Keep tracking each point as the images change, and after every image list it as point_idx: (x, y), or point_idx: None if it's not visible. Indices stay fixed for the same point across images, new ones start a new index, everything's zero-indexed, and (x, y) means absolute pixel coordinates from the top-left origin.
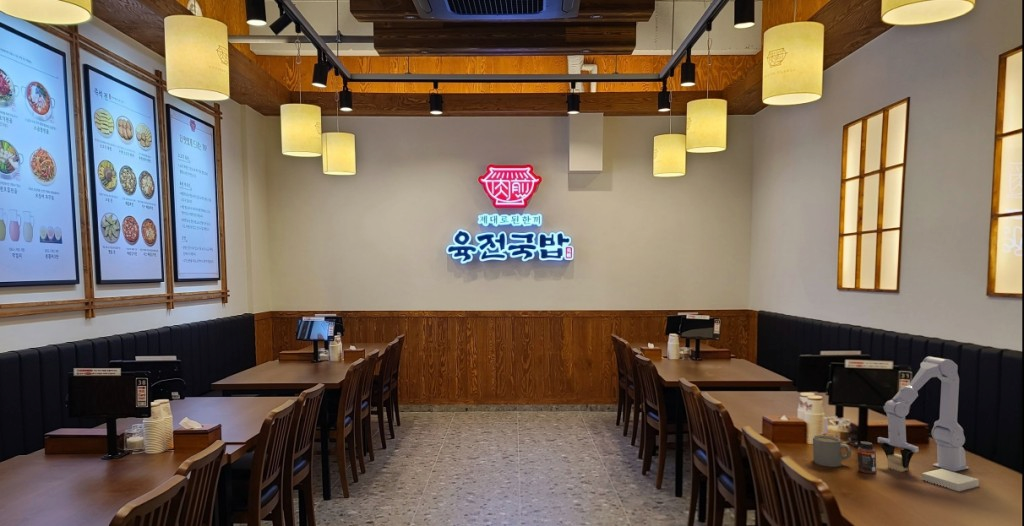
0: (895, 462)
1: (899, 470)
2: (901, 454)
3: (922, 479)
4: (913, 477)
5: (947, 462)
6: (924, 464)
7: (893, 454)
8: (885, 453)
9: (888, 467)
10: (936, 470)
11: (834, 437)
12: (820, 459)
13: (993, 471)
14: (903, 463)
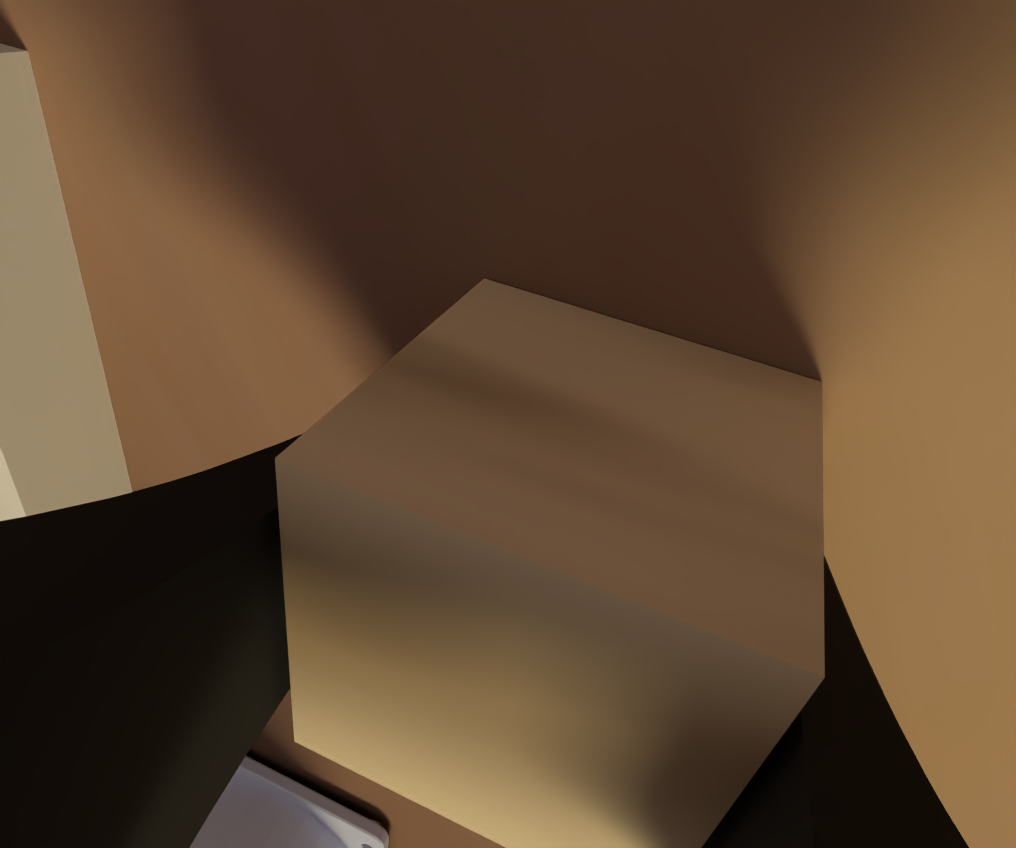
0: (537, 418)
1: (508, 295)
2: (102, 616)
3: (8, 47)
4: (162, 63)
5: (191, 844)
6: (461, 837)
7: (665, 840)
8: (950, 828)
9: (804, 380)
10: (2, 490)
11: None
12: None
13: None
14: None
